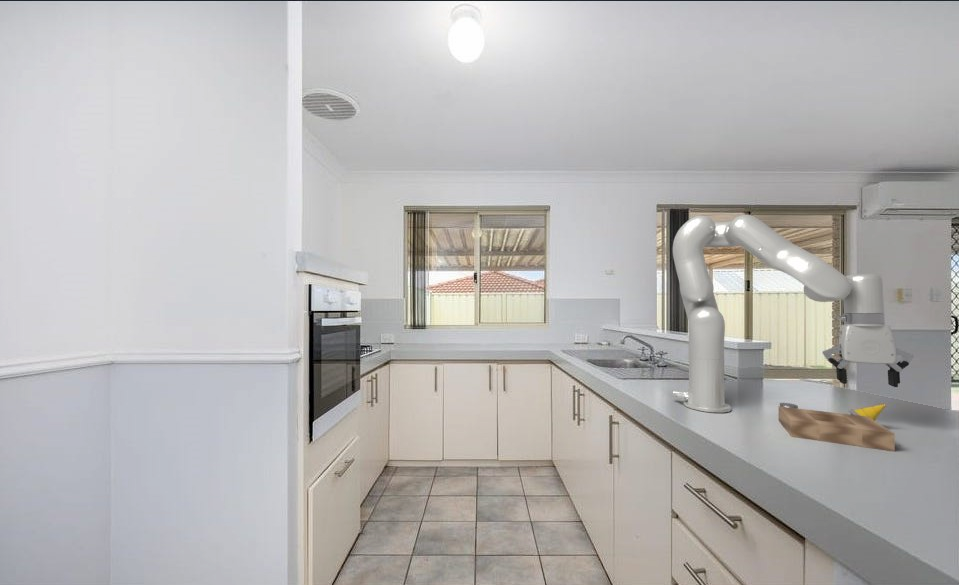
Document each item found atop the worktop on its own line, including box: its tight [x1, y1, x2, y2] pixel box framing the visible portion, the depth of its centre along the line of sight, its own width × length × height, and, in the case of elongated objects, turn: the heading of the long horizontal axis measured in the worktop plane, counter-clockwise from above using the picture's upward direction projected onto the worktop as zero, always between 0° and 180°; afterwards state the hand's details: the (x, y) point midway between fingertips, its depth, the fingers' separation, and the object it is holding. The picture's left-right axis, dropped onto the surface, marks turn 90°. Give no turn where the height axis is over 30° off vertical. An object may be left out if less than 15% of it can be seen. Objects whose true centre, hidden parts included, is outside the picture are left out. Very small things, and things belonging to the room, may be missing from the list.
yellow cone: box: [848, 404, 887, 422], centre depth 98 cm, size 5×5×10 cm
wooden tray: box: [778, 405, 896, 452], centre depth 93 cm, size 18×14×4 cm
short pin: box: [779, 402, 799, 409], centre depth 106 cm, size 4×4×4 cm
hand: (867, 384), depth 99 cm, fingers open, 9 cm apart
